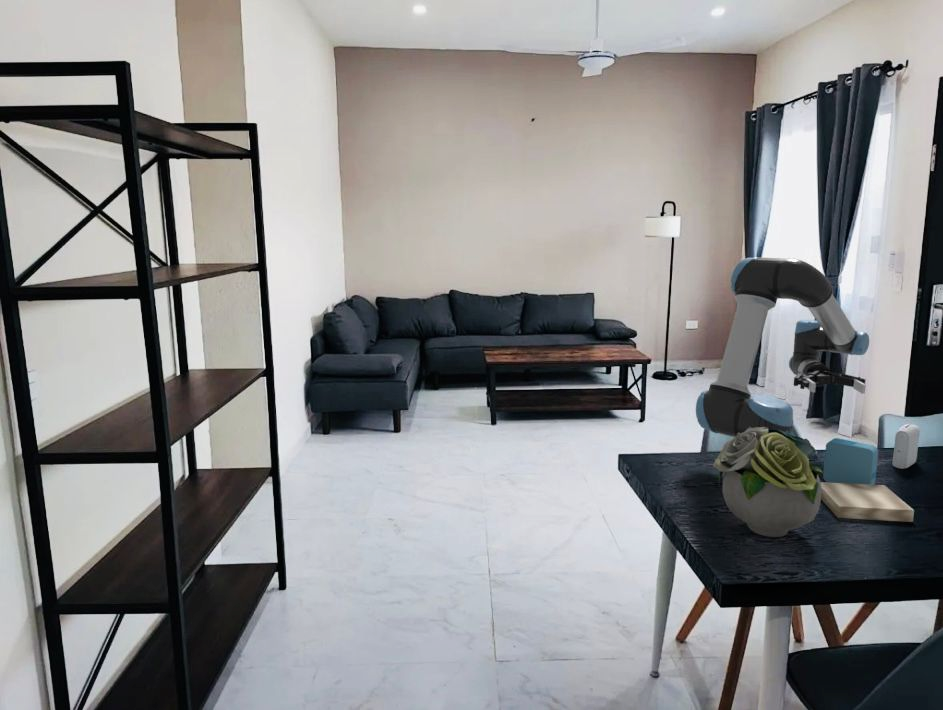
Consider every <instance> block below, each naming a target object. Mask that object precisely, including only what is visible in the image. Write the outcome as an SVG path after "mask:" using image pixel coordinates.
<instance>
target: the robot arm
mask: <svg viewBox="0 0 943 710" xmlns="http://www.w3.org/2000/svg"><path fill="white" fill-rule="evenodd" d="M730 283H731V284H730V289H731V291H732V293H733V294H734V298H733V299H734V300H735V301H736V303H737V307H736V310H735V314H734V317H733V321H732V326H731V329H730V331H729V332H730V333H729V336H728V340H727V343H726V347H725V350H724V354H723V358H722V360H721V361H722V362H721V366H720V369H719V372H718V376H717V379H716V380H715V381H713V382H711V383H710V385H709V389H707V390H703V391H701V392H700V395H698V398H697V400H696V404H695V417H696V420H697V423H698V424H699V425H700V427H701V428H702V429H704V430H705V431H710V432H712V433H715V434H721V435H724V436H728V437H733V438H735V437H736V435H737V433H739V432H740V433H743V432H745V431H746V430H747V429H748V428H749V427H751V428H756V427H767V428H764V429H768V430H769V429H770V430H780V431H784V432H786V431H788V432H789V431H791V430H792V431H793V424H794V409H793V406H791V405H790V404H789V403H788V402H787V401H784V400H782V399H781V398H777V397H773V396H769V395H763V394H761V395H760V394H756V395H755V394H754V395H752V393H751V392H750V390H749V389H748V386H749V384H750V383H749V382H750V379H751V375H752V372H753V367H754V364H755V361H756V358H757V357H756V356H757V355H758V354H757V353H758V351H759V350H758V349H759V346H760V342H761V340H762V339H761V338H762V335H763V330H764V328H765V324H766V322H767V316H768V314H769V311H770V310H772V309H773V308H775V307H776V306H777V305H776V304H777V301H778V299H783V300H785V299H786V300H793V301H797V302H798V303H799V304H800V305H801V306H802V307H804V308H807V310H809V312H810V313H811V314H812V316H813V318H814V319H799V320H798V321H796V323H795V330H794V343H793V353H792V356H791V357H790V358H789V360H788V367H789V369H790V371H791V372H792V373H793V374H794V377H793V386H794V387H798V386H800V387H799V388H800V389H801V390H805V389H807V390H808V391H810V392H811V393H816V388H817V387H822V386H825V385H832V386H836V385H840V386H841V385H842V386H846V387H851V388H853V390H855V391H857V392H858V393H860V394H865V393H866V388H867V387H866V378H862V377H861V376H855V375H850V374H846V373H845V372H844V373H843V372H839V373H834V372H831V370H830V368H829V367H828V366H827V365H825V364H823V363H822V362H821V361H818V359H819V351H822V352H828V353H829V352H830V353H836V354H838V353H839V354H843V355H850V356H863V355H865V354H866V353H867V351H868V349H869V347H870V336H869V334H868V332H865V331H860V330H857V331H856V330H855V328H854V327H853V325H852V323H851V322H850V320H849V318H848V317H847V315H846V314H845V311H843V309H842V308H841V305H840V304H839V302H838V301H837V299H836V298H835V296H834V295H833V292H834V290H833V289H834V288H833V286H832V284H831V282H830V280H829V279H828V278H827V277H826V275H824V273H822V272H821V271H820V270H819V269H817V267H815V266H813V265H811V264H810V263H808V262H806V261H805V260H804V261H803V260H801V259H798V258H797V259H796V258H777V257H762V256H756V257H746V258H743V259H742V260H741V261H739V262H738V263H737V264H736V265H735V268H734V269H733V272H732V274H731V278H730ZM786 433H787V432H786Z"/></svg>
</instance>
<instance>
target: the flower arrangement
mask: <svg viewBox="0 0 943 710" xmlns="http://www.w3.org/2000/svg"><path fill="white" fill-rule="evenodd" d="M764 428H767V427H756V428H751V427H749V428H748V429H747V430H746V431H745V432H743V433H740V432H739V433H737V435H736V437H733V438H732V439H730V440H728V441H726V442H725V443H724V444H723V446H722V450H721V451H720V453H719V454H718V456H717V458H716V459H715V460H714V463H713V465H712V466H713V467H714V468H715V469H717V470H718V485H720V484H721V481H722V492H721V493H722V495H723V498H724V502H725V505H726V506H727V508H728V510H729V511H730V512H731V513H732V514H733V515H734V516H735V517H736V518H738V519H739V520H741V521H742V522H744V523H746V525H747V527H748V528H749V529H750V531H751V532H753V533H755V534H758V535H760V536H763V537H769V538H781V537H784V536H786V535H787V534H789V531H793V530H798V529H800V528H801V527H803V526H805V525H807V524H808V523H811V522H812V521H814V520H815V518H816V517H817V513H818V511H819V510H820V507H821V506H820V505H821V501H822V499H821V493H822V489H821V482H822V481H821V480H820V477H821V478H822V479H824V478H823V471H822V469H821V468H820V467H818V466H815V465H812V464H810V460H811V461H812V460H813V461H814V460H819V458H818V455H817V453H818V451H816V448H815V447H814V446H813V445H812V444H811V441H810V440H809V439H808V438H803V437H800V436H796V435H795V432H794V430H793V429H792V430H791V431H789V432H788V431H786V432H787V433H786V432H784V431H780V430H770V429H769V430H768V429H764ZM812 452H814V454H813V455H810V454H811V453H812ZM723 474H724V475H723ZM722 477H723V478H722Z"/></svg>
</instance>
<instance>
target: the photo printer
mask: <svg viewBox="0 0 943 710" xmlns="http://www.w3.org/2000/svg"><path fill="white" fill-rule="evenodd" d="M920 433H921V430H920V428H919V426H917V425H916V424H911V423H906V424H904V425H902V426H900V428H899V429H898V430H897V431H896V433H895V437H894V447H893V448H894V449H893V455H892V456H893V457H892V466H893V467H894V468H897V469H900V470H901V469H907V468H909V467H911V466H912V465H914V464H915V463H916V462H917V459H918V449H919V440H920Z"/></svg>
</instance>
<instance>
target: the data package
mask: <svg viewBox="0 0 943 710" xmlns="http://www.w3.org/2000/svg"><path fill="white" fill-rule="evenodd" d="M878 458H879V449H878V448H877V447H876V446H875V445H873V444H869V443H864V442H858V441H853V440H848V439H843V438H833V439H831V440H829V441H828V442H827V443H826V444H825V451H824V460H823V461H824V462H823V471H822V472H823V478H822V479H823V480H824V482H829V483H849V484H869V485H876V484H875V483H876V477H877V468H878V460H879V459H878Z"/></svg>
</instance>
